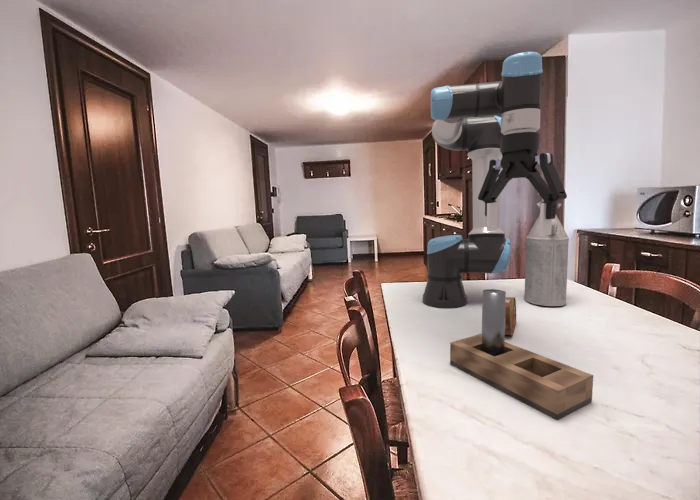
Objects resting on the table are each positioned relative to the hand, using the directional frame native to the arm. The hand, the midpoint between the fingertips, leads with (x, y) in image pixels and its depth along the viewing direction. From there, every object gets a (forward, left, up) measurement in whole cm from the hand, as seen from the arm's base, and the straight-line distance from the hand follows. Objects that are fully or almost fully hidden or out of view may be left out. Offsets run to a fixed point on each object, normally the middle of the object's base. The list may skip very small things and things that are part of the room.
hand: (516, 232), depth 80 cm
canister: (-22, +45, -28) cm, 57 cm away
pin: (+3, -11, -27) cm, 29 cm away
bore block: (+8, -11, -28) cm, 31 cm away
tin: (-11, +12, -28) cm, 33 cm away
